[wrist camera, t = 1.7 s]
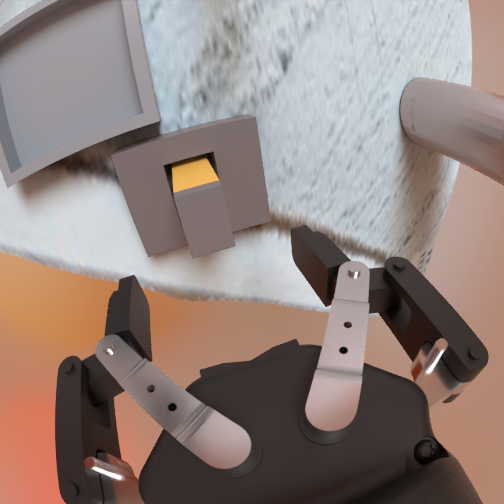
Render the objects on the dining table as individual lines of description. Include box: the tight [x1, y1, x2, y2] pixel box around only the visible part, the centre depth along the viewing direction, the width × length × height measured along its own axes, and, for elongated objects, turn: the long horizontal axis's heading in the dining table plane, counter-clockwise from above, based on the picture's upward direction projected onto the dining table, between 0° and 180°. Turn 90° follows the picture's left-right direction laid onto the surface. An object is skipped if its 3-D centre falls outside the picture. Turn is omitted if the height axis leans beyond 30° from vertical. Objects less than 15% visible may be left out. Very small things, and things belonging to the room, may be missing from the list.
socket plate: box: [111, 114, 271, 257], centre depth 23 cm, size 12×10×2 cm
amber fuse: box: [172, 154, 235, 258], centre depth 21 cm, size 3×4×9 cm, turn 9°
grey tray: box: [0, 0, 160, 188], centre depth 14 cm, size 15×15×3 cm
